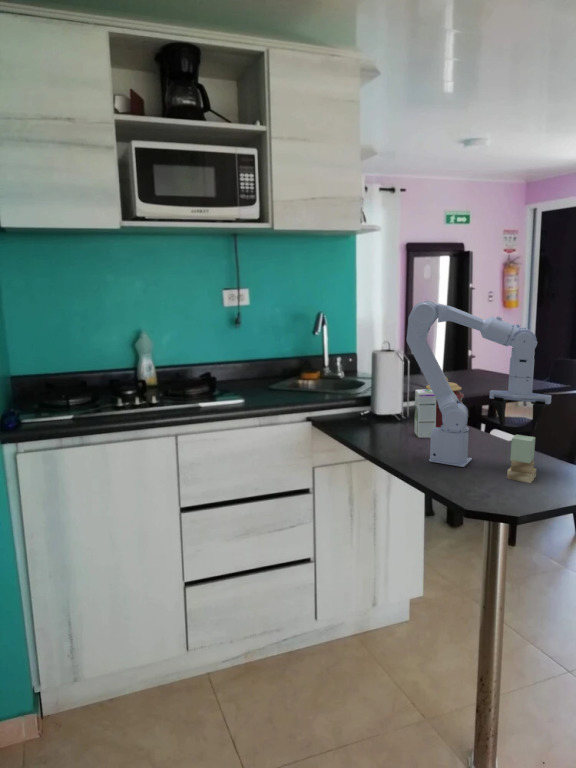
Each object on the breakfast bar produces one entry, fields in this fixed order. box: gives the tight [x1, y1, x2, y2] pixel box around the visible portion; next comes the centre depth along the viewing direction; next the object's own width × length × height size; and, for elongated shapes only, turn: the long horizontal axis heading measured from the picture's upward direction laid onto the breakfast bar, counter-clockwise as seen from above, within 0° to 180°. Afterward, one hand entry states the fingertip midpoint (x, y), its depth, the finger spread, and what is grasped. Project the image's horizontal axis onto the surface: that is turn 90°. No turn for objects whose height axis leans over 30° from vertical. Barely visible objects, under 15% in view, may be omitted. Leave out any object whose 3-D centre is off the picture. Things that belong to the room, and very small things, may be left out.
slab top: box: [510, 459, 535, 474], centre depth 138 cm, size 5×5×2 cm
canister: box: [425, 376, 465, 427], centre depth 185 cm, size 13×13×18 cm
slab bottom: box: [506, 466, 538, 484], centre depth 138 cm, size 6×6×2 cm
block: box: [510, 434, 536, 463], centre depth 137 cm, size 4×4×6 cm
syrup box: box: [413, 388, 436, 439], centre depth 177 cm, size 6×6×14 cm
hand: (517, 428), depth 145 cm, fingers open, 7 cm apart
